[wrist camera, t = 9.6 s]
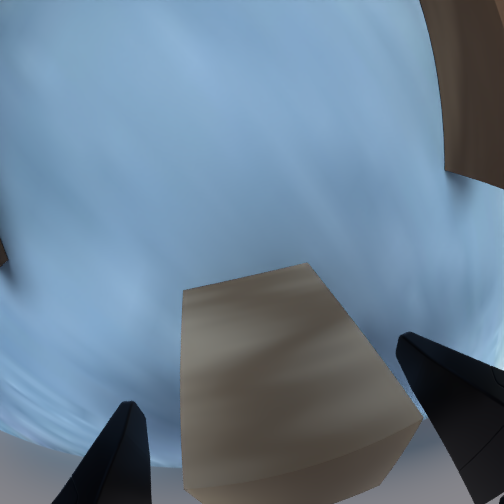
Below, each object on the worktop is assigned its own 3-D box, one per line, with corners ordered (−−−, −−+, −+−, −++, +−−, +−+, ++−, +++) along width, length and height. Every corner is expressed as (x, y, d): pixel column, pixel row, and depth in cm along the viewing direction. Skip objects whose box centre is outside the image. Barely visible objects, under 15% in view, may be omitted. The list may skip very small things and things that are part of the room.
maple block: (307, 262, 10) (423, 417, 4) (312, 350, 12) (379, 485, 6) (183, 290, 10) (183, 489, 4) (213, 375, 12) (236, 526, 5)
